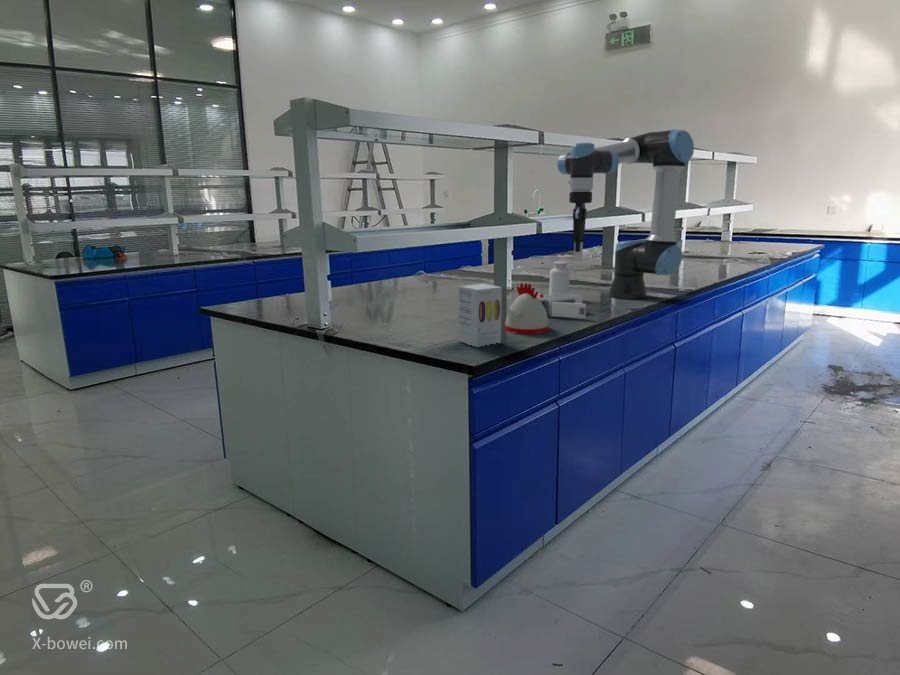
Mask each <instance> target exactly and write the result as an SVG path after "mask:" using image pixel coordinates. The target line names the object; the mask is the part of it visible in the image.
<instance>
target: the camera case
mask: <svg viewBox="0 0 900 675" xmlns="http://www.w3.org/2000/svg"><path fill="white" fill-rule="evenodd" d="M537 298H538V299H539V300H540V301H541V303H542V304H543V306H544V307H545V310H546V314H547V317H548V318H550V317H549V301H553V302H563V303H581V304H583V298H584V297H583V295H581V294H575V293H570V292H569V293H567V292H561V293H552V294H549V293H545V294H544V293H538V295H537Z"/></svg>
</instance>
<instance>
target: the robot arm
mask: <svg viewBox="0 0 900 675" xmlns="http://www.w3.org/2000/svg"><path fill="white" fill-rule="evenodd" d="M694 152H695V145H694V140H693V138H692V136H691V134H690V133H689V132H688V131H686V130H683V129H671V130H669V129H668V130H661V131H651V132H650V131H649V132H645V133H643V134H639V135H636V136H632V137H630V138H629V137H628V138H625V139H624V140H622V141H621V142H617V143H612V144H608V145H603V146H599V147H595V144H594V143H592V142H579V143H578V142H577V143H574V144H572V146H571V152H565V153H561V154H560V155H559V157H558V159H557V162H556V164H557V170H558V172H559V173H561V174H562V175H569V177H570V178H569V179H570V180H568V182H567V183H568V184H569V190H570V192H569V196H568V197H569V198H568V201H569V203H570V204H575V205H574V208H573V209H572V210H573V211H572V218H573V220H572V222H573V223H572V224H573V225H572V227H573V228H572V229H573V230H572V231H573V232H572V233H573V234H572V235H573V237H572V240H571V243H574V244H573V260H572V261H573V262H582V261H583V248H584V247H583V246H584V243H585V242H586V239H585V229H586V222H587V221H586V220H587V212H588V211H587V210H588V209H587V208H586V204H590V203H592V200H593V192H592V190H593V187H594V174H595V175H596V174H604V175H607V174H613V173H614V172H616V170H618V168H619V165H620V164H627V165H632V164H652V168H653V170H654V171H655V183H654V191H653V192H654V193H653V202H652V203H653V204H652V213H651V221H650V233H649V236H647V237H646V238H645V239H636V240H635V239H634V240H623V241H618V242H617V243H616V245H615V250H614V253H615V254H614V256H615V257H614V272H613V273H614V274H613V279H612V283H611V286H610V288H609V291H608V296H609V297H611V298H614V299H621V300H622V299H623V300H638V299H639V300H640V299H646V298H647V297H648V296H647V295H648V294H647V293H648V292H647V289H646V283H645V280H644V275H645V274H651V275H657V276H669V275H670V276H671V275H672V274H674V273H675V272H676V271H677V269H678V268H679V266H680V264H681V262H682V258H683V252H682V249H681V247H680V246H679V245H677V242H678V241H677V239H676V238H675V237H674V234H675V223H676V214H677V213H676V212H677V203H678V195H679V187H680V177H681V173H682V171H683V170H684V169H686V163H688V162H689V161H690V160H691V159H692V157H693V155H694Z"/></svg>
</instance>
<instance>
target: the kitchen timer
mask: <svg viewBox="0 0 900 675" xmlns="http://www.w3.org/2000/svg"><path fill="white" fill-rule="evenodd" d="M535 290H536V288H535V287H532V284H531V283H527V282H526V283H524V284H523V283H522V282H521V283H519V285H517V286H516V291H517V293H518V295H519V296H518V297H516V299H515V300H514V301H513V302H512V304H511V305H510V307H509V309H508V311H507V315H506V318H505V325H504V328H505V331H506V330H507V331H506V332H508V331H510V332H509V333H511V332H514V333H513V334H517V333H522V334H521V335H537V333H540V334H544V333H543V332H545V333H547V332H548V331H549V330H548V329H549V327H550V324H549V317H547V314H546V310H545V307H544V306H543V304H542V303H541V301H540V300H539V299H538V298H537V295H539V291H536V292H535ZM546 331H547V332H546Z"/></svg>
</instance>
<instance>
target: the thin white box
mask: <svg viewBox="0 0 900 675" xmlns="http://www.w3.org/2000/svg"><path fill="white" fill-rule="evenodd" d="M586 306H587V303H582V304H581V303H563V302H553V301H549V317H548V318H551V317H552V318H553V317H557V318H571V319H586V310H587V307H586Z"/></svg>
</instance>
